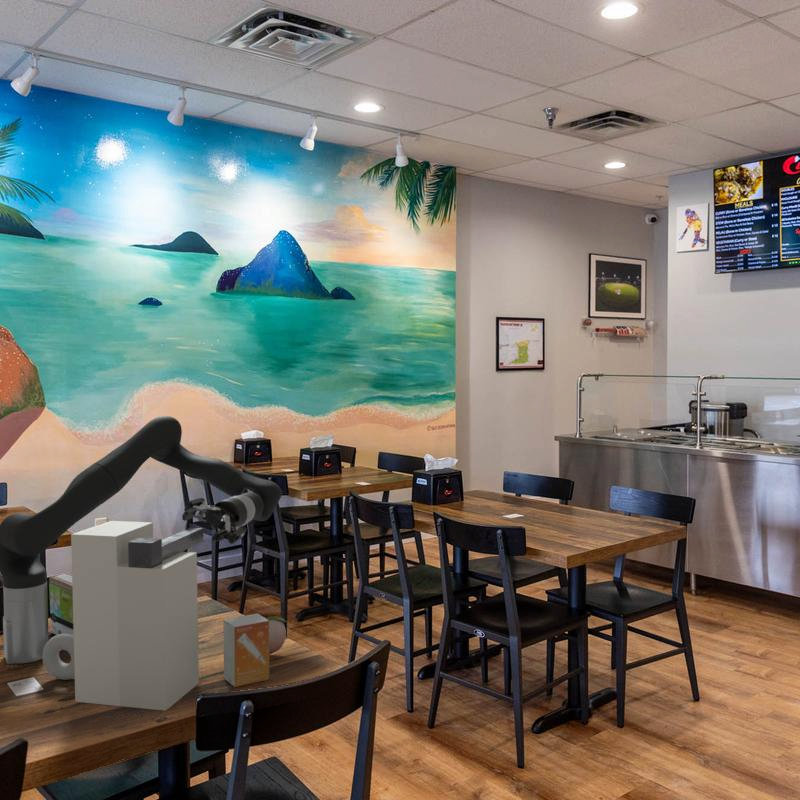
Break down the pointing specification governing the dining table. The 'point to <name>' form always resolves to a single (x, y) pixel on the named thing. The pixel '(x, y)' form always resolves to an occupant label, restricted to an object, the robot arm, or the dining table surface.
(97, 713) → the dining table surface
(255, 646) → the small box
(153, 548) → the metal bar
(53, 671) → the donut
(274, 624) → the decorative fruit
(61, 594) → the tea box
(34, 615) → the robot arm
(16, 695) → the dining table surface
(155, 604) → the two tier stand
